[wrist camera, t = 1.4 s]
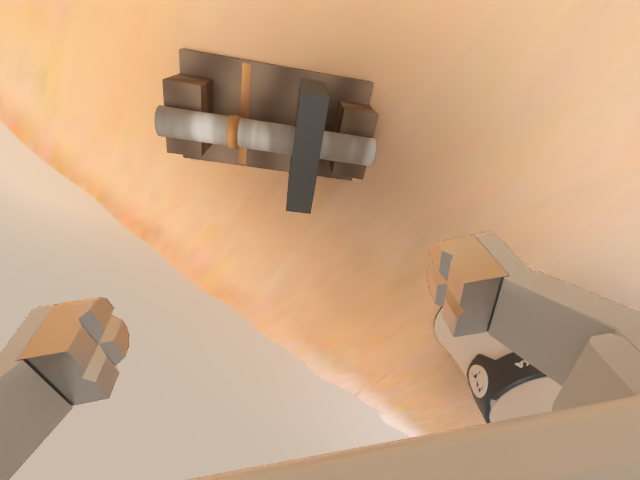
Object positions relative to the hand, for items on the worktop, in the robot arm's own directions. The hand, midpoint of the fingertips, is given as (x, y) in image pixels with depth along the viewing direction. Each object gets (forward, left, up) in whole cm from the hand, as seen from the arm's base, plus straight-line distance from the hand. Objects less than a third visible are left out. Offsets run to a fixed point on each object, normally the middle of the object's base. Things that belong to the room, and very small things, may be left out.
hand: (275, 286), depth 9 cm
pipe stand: (+2, +2, -30) cm, 30 cm away
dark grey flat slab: (-1, +2, -27) cm, 28 cm away
